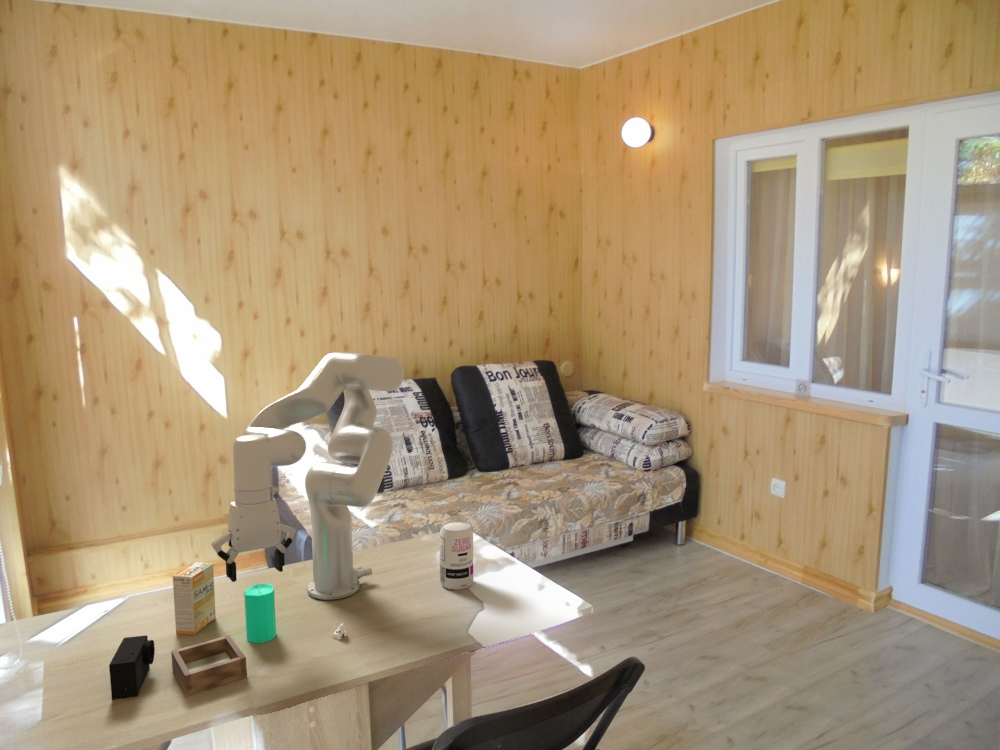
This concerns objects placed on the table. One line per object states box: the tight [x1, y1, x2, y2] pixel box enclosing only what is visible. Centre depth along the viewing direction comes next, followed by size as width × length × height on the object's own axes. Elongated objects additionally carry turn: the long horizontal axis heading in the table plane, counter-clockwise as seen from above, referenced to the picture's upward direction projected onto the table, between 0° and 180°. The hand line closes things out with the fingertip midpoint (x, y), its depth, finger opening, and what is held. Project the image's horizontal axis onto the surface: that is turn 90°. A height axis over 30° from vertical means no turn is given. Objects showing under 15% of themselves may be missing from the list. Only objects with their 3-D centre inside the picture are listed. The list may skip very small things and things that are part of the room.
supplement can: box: [439, 520, 474, 591], centre depth 183 cm, size 8×8×15 cm
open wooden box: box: [171, 634, 248, 697], centre depth 143 cm, size 11×11×4 cm
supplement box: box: [172, 561, 217, 636], centre depth 162 cm, size 8×5×13 cm, turn 168°
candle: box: [243, 582, 277, 644], centre depth 157 cm, size 6×6×12 cm
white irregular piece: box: [331, 622, 348, 641], centre depth 158 cm, size 3×3×3 cm
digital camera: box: [108, 635, 156, 701], centre depth 140 cm, size 10×5×7 cm, turn 13°
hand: (256, 574), depth 156 cm, fingers open, 9 cm apart
